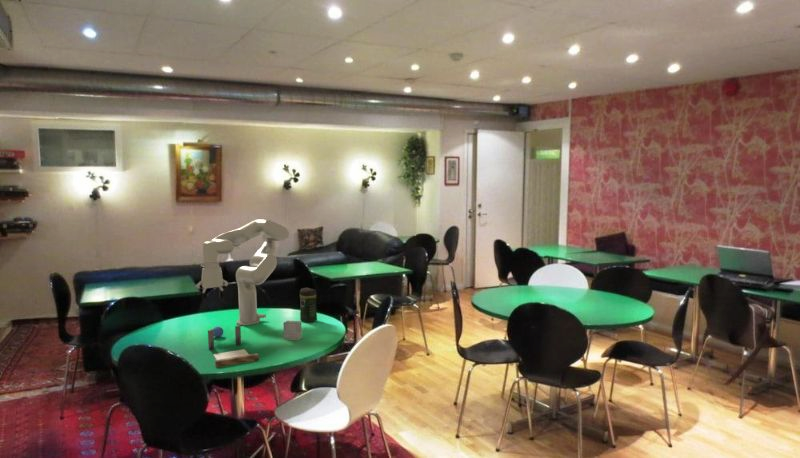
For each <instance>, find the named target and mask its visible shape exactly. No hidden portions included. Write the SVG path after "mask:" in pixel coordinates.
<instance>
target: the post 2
mask: <svg viewBox="0 0 800 458" xmlns="http://www.w3.org/2000/svg"><path fill="white" fill-rule="evenodd" d="M241 327H242V326H241V325H235V326H234V332H235V333H234V335H235V346H237V347H239V346H241V345H242V329H241Z"/></svg>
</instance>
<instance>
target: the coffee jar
mask: <svg viewBox="0 0 800 458" xmlns="http://www.w3.org/2000/svg"><path fill="white" fill-rule="evenodd" d="M299 299H300V301H299V302H300V304H299V306H300V310H299V311H300V312H299V313H300V314H299V320H300V321H301V322H304V323H307V324H308V323H311V324H312V323H315V322H317V321H318V315H317V313H318V312H317V291H316V289H313V288H310V287H302V288H301V289H300V290H299Z"/></svg>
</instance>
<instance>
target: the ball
mask: <svg viewBox="0 0 800 458" xmlns="http://www.w3.org/2000/svg"><path fill="white" fill-rule="evenodd" d="M212 330H213V331H214V338H221V337H222V336H223V334H224V329H223V327H222V326H214V328H213V329H212Z"/></svg>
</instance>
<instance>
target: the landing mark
mask: <svg viewBox="0 0 800 458" xmlns="http://www.w3.org/2000/svg"><path fill="white" fill-rule="evenodd" d="M244 355H250V354H249V353H248V351H246V349H243V348H242V349H239V350H231V351H230V350H229V351H225V352H218V353H214V354H213V356H214V358H215V360H220V359H226V358H232V357H238V356H244Z"/></svg>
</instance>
